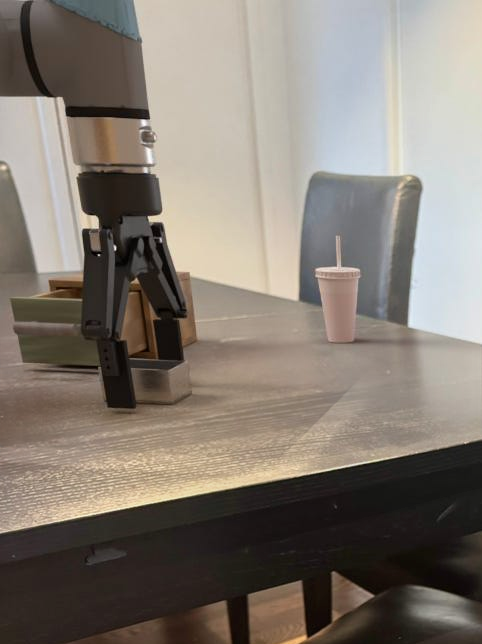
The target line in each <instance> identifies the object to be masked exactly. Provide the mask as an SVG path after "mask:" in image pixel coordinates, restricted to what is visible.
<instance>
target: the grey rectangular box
mask: <svg viewBox="0 0 482 644" xmlns="http://www.w3.org/2000/svg"><path fill="white" fill-rule="evenodd" d="M129 360H130V366H131V373H132V379H133V385H134V392H135V398H136V404H148V405H149V404H151V405H154V404H155V405H170V406H171V405H175V404H177V403H178V402H180V401H181V400H183V399H185V398H187V397H189V396H190V395H192V394H193V390H192V383H191V374H190V366H189V364H190V363H189V360H184V361H182V360H159V359H158V358H157V359H144V358H129ZM97 369H98V376H99V382H100V387H101V394H102V399H103V400H102V401H103V402H106V403H107V401H106V395H105V389H104V383H103V377H102V372H101V366H97Z"/></svg>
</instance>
